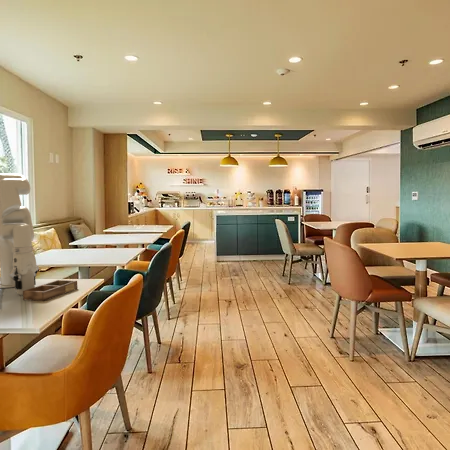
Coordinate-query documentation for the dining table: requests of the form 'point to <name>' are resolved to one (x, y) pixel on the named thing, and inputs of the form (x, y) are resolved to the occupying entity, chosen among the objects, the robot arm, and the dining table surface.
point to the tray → (49, 290)
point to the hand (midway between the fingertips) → (25, 286)
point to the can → (26, 282)
